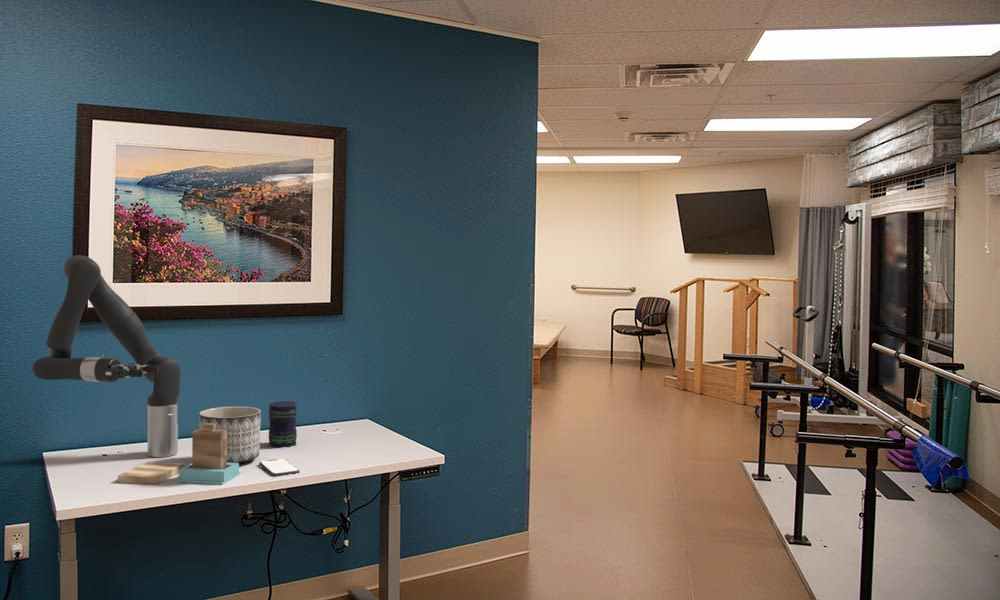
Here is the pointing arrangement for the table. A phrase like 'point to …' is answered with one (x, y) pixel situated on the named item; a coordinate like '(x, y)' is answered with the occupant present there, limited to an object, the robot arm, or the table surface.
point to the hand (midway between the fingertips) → (150, 371)
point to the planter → (236, 430)
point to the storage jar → (282, 424)
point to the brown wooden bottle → (209, 448)
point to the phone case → (278, 467)
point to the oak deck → (150, 473)
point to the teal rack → (208, 474)
